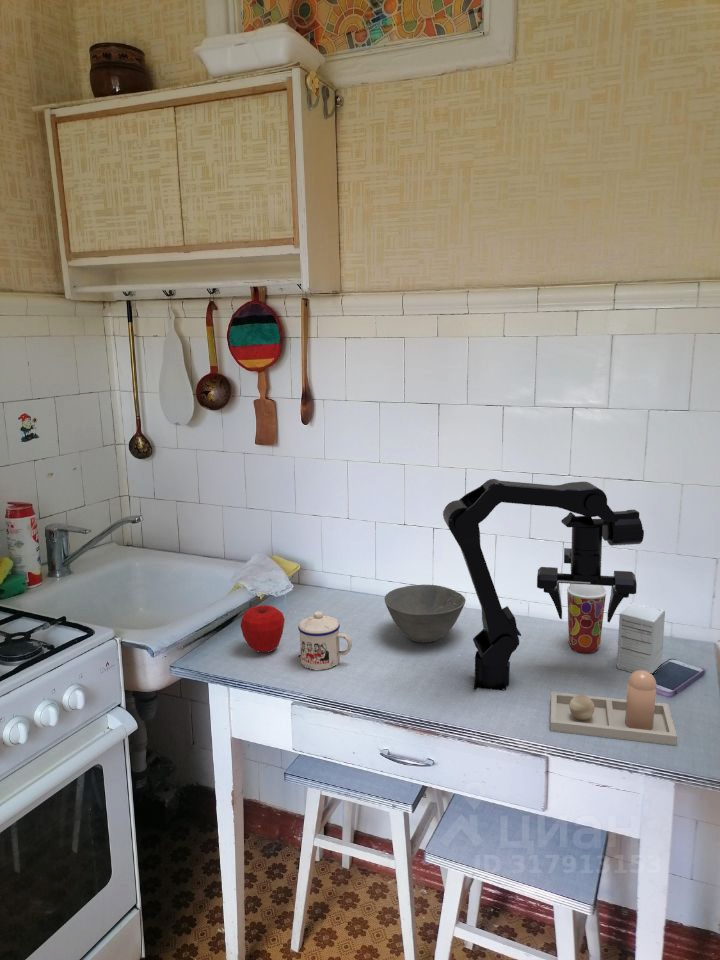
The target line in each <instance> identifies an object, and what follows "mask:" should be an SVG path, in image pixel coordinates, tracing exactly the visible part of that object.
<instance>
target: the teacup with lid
mask: <svg viewBox="0 0 720 960" xmlns="http://www.w3.org/2000/svg"><path fill="white" fill-rule="evenodd" d="M340 627H341V625H340V622H339V620H338V619H336V618H335V617H333V616H329V615H324V613H323V611H315V612H314V614H313V615H311V616H309V617H306V618H304V619H302V620H301V621H300V622H299V623H298V627H297V628H298V632H299V645H300V647H299V648H300V649H299V650H300V663H301V665H302V664H303V665H304V666H306V667H308V668H311V669H327V668H330V669H332V668H331V667H333V666H335V665H336V666H338V665H339V663H340V660H341V656H345V655H348V653H349V652H350V651H351V649H352V646H353V642H352V639H351V637H350V636H349V635H348V634H346V633H344V632H343V633H342V632H340ZM340 638H341V639H343V640H346V642H347V649H346V650H340ZM303 665H302V666H303ZM304 666H303V667H304ZM336 666H335V667H336ZM306 667H305V668H306ZM308 668H307V669H308ZM333 668H334V667H333ZM311 669H310V670H311ZM327 670H328V669H327Z"/></svg>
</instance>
